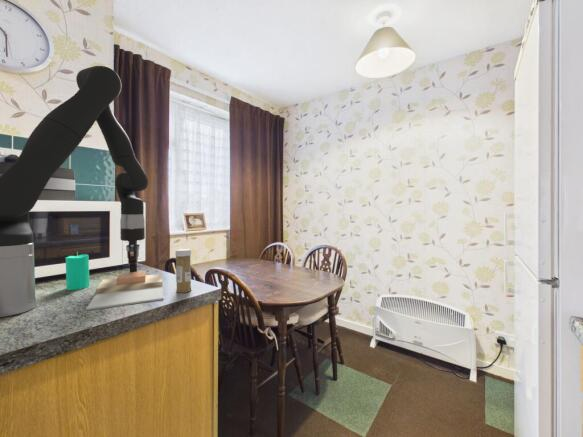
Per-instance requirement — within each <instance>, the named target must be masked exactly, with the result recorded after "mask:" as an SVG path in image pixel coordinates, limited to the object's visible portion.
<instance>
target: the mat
mask: <svg viewBox="0 0 583 437" xmlns="http://www.w3.org/2000/svg"><path fill="white" fill-rule="evenodd" d="M163 288H164V287H163V285H162V286H159V287H151V288H142V289H134V290H125V291H117V292H108V293H100V294H96V293H95V295H94V296H93V298H92V299H91V301H90V302H89V303H88V305H87V306H86V307H85V310H86V311H91V310H92V311H93V310H99V309H107V308H115V307H121V306H128V305H129V306H130V305H134V304H142V303H148V302H149V303H150V302H157V301H163V300H164V291H163Z"/></svg>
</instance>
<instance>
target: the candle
mask: <svg viewBox="0 0 583 437" xmlns="http://www.w3.org/2000/svg"><path fill="white" fill-rule="evenodd" d="M78 252H79V251H76V255H68V256H67V257H65V277H66V278H65V279H66V280H65V282H66V284H65V285H66V291H67V290H68V291H77V290H82V289H85V288H88V287H90V260H89V259H90V258H89V254H78Z"/></svg>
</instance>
